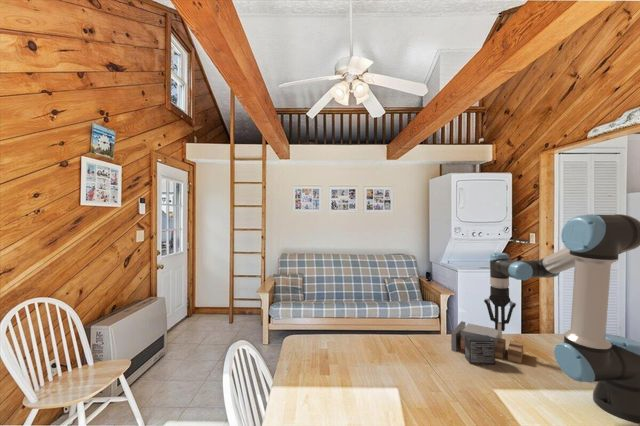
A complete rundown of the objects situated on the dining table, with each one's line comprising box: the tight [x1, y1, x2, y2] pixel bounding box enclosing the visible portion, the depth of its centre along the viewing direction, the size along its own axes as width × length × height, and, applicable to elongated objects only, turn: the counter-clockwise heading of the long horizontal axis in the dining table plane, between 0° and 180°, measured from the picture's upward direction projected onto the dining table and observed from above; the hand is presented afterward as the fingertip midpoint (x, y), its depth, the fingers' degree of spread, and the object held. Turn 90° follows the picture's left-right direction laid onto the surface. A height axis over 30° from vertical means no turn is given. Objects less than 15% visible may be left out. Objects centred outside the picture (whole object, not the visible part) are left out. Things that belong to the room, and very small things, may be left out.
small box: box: [464, 335, 496, 366], centre depth 134 cm, size 11×6×10 cm, turn 84°
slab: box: [463, 323, 500, 347], centre depth 146 cm, size 12×14×4 cm
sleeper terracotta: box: [460, 337, 465, 351], centre depth 149 cm, size 11×4×4 cm, turn 142°
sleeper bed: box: [494, 338, 524, 364], centre depth 142 cm, size 11×19×5 cm, turn 52°
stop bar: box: [450, 321, 467, 352], centre depth 152 cm, size 20×2×8 cm, turn 142°
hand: (500, 337), depth 141 cm, fingers closed
